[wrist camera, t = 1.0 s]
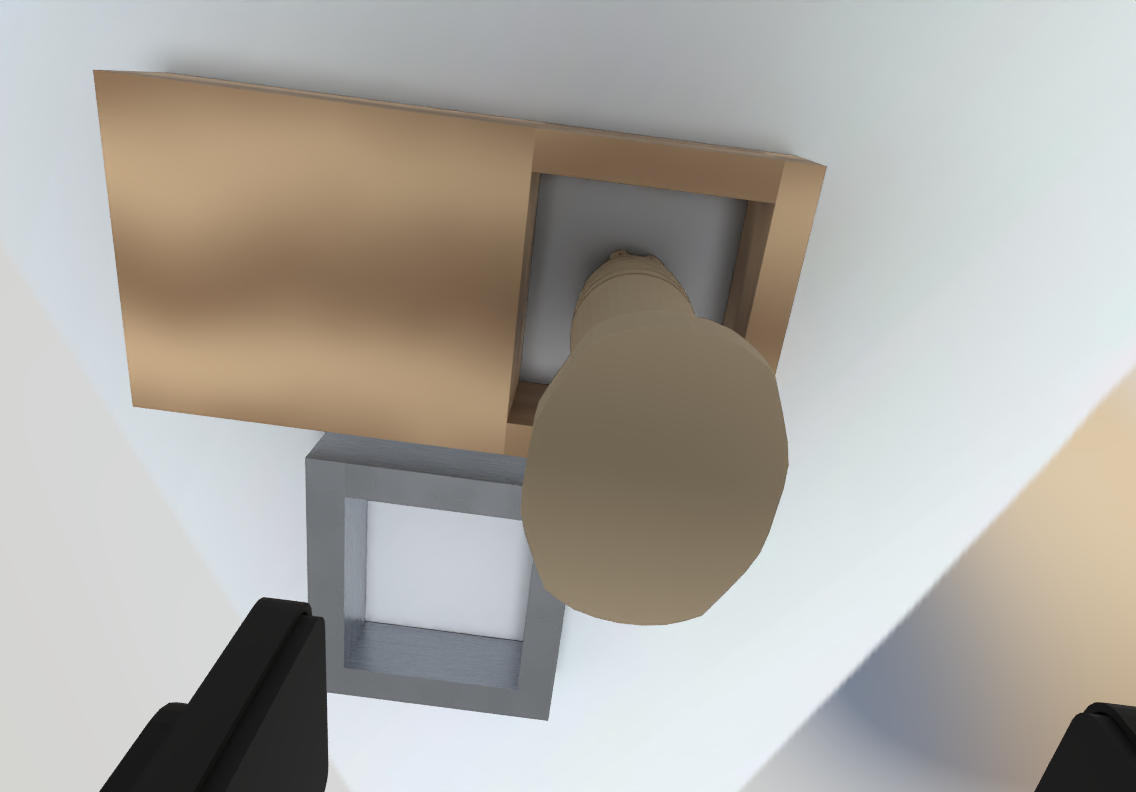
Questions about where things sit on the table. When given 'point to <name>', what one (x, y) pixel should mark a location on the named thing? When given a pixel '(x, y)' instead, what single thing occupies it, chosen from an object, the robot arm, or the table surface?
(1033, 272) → the table surface
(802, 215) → the wooden box
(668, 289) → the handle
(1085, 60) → the table surface
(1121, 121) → the table surface
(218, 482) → the table surface
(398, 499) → the collar
